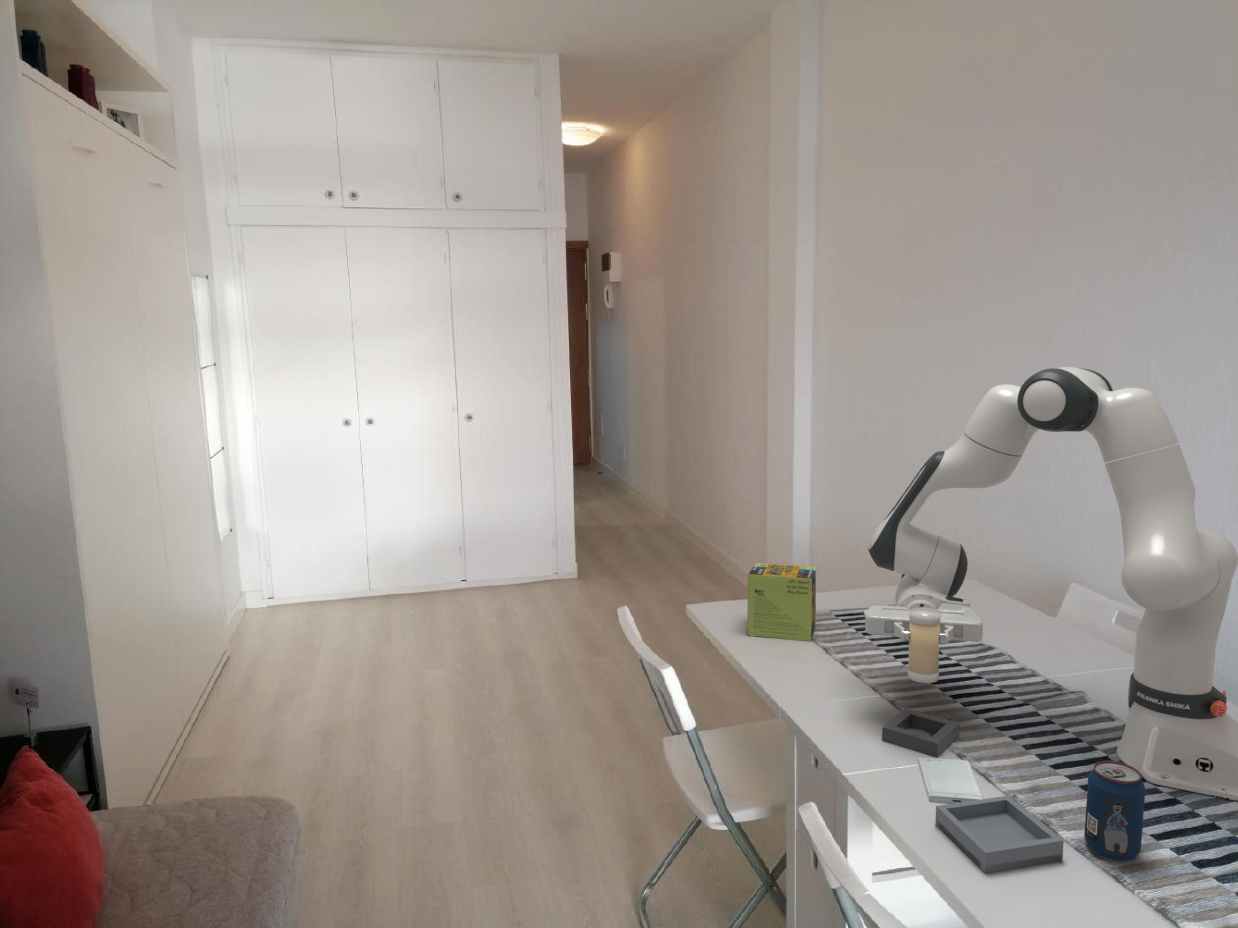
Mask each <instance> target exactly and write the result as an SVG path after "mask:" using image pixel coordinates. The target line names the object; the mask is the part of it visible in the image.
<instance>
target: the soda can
mask: <svg viewBox="0 0 1238 928" xmlns="http://www.w3.org/2000/svg"><path fill="white" fill-rule="evenodd" d="M1145 798H1146V787H1145V784H1144V782H1143V780H1142V774H1141V773H1140V772H1139V771H1138V770H1136V769H1135V768H1133V767H1131V766H1129V765H1127V764H1126V763H1124V762H1119V761H1116V760H1100V761H1097V762H1096V763H1094V765H1093V769H1092V770H1091V771H1090V772H1089V773H1088V777H1087V791H1086V803H1085V820H1084V834H1083V835H1084V836H1083V837H1084V840H1085V842H1086V844H1087V845H1088V847H1089V850H1091V852H1092V853H1094V854H1095V855H1097V856H1098V857H1099V858H1102V859H1104V860H1107V861H1109V862H1115V863H1128V862H1131V861H1133V860H1134V859H1135V858H1136V857H1138V855H1139V853H1141V850H1142V841H1143V827H1144V814H1145V813H1144V812H1145V802H1146V801H1145Z"/></svg>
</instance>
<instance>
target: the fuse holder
mask: <svg viewBox="0 0 1238 928" xmlns="http://www.w3.org/2000/svg"><path fill="white" fill-rule="evenodd" d="M881 728H882V729H881V741H883V742H886V743H888V744H892V745H896V746H899V747H902V748H905V749H909V750H912V751H914V752H919V753H921V754H925V755H929V756H930V757H931V756H932V757H933V758H934V757H935V758H938V757H940V756H941V754H942V753H944V752H945V751H946V750H947V748H949V746H951V745H952V743H954V742H955V741H956V740H957V739H958V738H959V736H960V723H959V722H957V721H953V720H950V719H947V718H943V717H938V716H935V715H932V714H928V713H925V712H920V711H918V710H914V709H910V708H907V707H905V708H904V709H902V710H901V711H900V712H899V713H898V714H896V715H895V716H894V717H893V718H892V719H890V720H889V721H887V723H886V724H884V725H883V726H882V727H881ZM910 728H914V729H917V730H921V731H924V732H927V733H931V734H933V735H932V736H931V735H930V736H929V735H926V734H923V733H920V732H915V731H914V730H913V731H912V730H911V729H910ZM909 729H910V730H909Z"/></svg>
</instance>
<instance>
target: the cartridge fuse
mask: <svg viewBox="0 0 1238 928" xmlns="http://www.w3.org/2000/svg"><path fill="white" fill-rule="evenodd" d="M909 620H910V630H909V631H910V636H909V637H910V641H908V666H907V677H908V679H909V680H910V681H913V682H916V683H921V684H922V683H923V684H932V683H936V682H938V681H939V677H940V669H939V665H940V664H939V662H940V661H939V660H940V659H939V658H940V643H939V635H940V622H941V612H940V611H938V610H936V609H932V608H925V607H918V608H912V609H910V611H909Z"/></svg>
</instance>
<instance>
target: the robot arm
mask: <svg viewBox="0 0 1238 928" xmlns="http://www.w3.org/2000/svg"><path fill="white" fill-rule="evenodd" d="M1039 430H1042V431H1045V432H1050V433H1051V432H1055V433H1057V432H1058V433H1060V432H1061V433H1063V432H1074V433H1075V432H1083V431H1085V432H1087V433H1089V434H1090V435H1091V436H1092V437H1093V438H1094V440H1095V441H1096V443H1097V445H1098V448H1099V451H1100V454H1101V457H1102V459H1103V463H1104V466H1105V469H1106V471H1107V474H1108V478H1109V480H1110V483H1111V487H1112V490H1113V492H1114V496H1115V500H1116V502H1117V505H1118V511H1119V514H1120V515H1119V516H1120V521H1121V522H1120V523H1121V531H1122V532H1121V533H1122V543H1123V552H1124V555H1123V556H1124V560H1123V566H1122V569H1121V574H1120V575H1121V576H1120V577H1121V584H1122V586H1123V589H1124V591H1125V592H1126V595H1127V596H1128V597H1129V599H1131V600H1132V601H1133V602H1134V603H1136V604H1137V605H1139V606H1141V607H1143V608H1144V609H1145V611H1144V613H1143V615H1142V618H1141V620H1140V623H1139V624H1138V626H1137V629H1136V634H1135V635H1136V636H1135V647H1134V649H1135V650H1134V663H1133V672H1131V673H1132V674H1131V675H1130V676H1129V677H1130V678H1129V680H1128V688H1127V689H1128V690H1127V701H1128V703H1127V704H1128V708H1129V709H1128V713H1127V718H1126V723H1125V727H1124V731H1123V733H1122V736H1121V739H1120V741H1119V743H1118V745H1117V747H1116V755H1117V756H1118V758H1119V759H1120V760H1121V761H1122V763H1124V764H1127V765H1129V766H1131V767H1133V768H1135V769H1136V770H1138V771H1139V772H1140V774H1141V777H1143V778H1144V779H1145V780H1146V781H1148V782H1149V783H1151V784H1154V785H1159V786H1164V787H1169V788H1172V789H1173V788H1174V789H1177V790H1182V791H1187V792H1188V791H1189V792H1193V793H1197V794H1202V795H1203V794H1204V795H1207V796H1211V795H1215V796H1214V797H1216V796H1222V797H1223V798H1222V799H1226V798H1229V799H1228V800H1232V801H1236V800H1237V802H1238V721H1237V720H1235V719H1234V718H1233V717H1232V716H1230V715H1229V714H1228V713H1227V710H1228V706H1227V701H1228V699H1227V692H1226V690H1225V689H1224V690H1223V691H1222V692H1221V691H1220V690H1218V689H1217V688H1216V687H1215V686H1213V682H1214V671H1215V670H1214V669H1215V662H1216V661H1215V660H1216V649H1217V643H1218V637H1219V633H1220V629H1221V626H1222V622H1223V620H1224V616H1225V611H1226V608H1227V603H1228V600H1229V596H1230V591H1231V587H1232V583H1233V579H1234V575H1235V573H1236V571H1237V568H1238V552H1237V549H1236V548H1235V547H1236V546H1234V544H1233V543H1232V541H1231V540H1230V539H1229V538H1228V537H1226V536H1225V535H1223V534H1221V533H1220V532H1219V531H1215V530H1211V529H1208V528H1207V529H1205V528H1197V524H1196V522H1197V521H1196V517H1195V516H1196V515H1195V497H1196V488H1195V484H1194V482H1193V479H1192V476H1191V472H1190V470H1189V467H1188V465H1187V462H1186V460H1185V457H1184V454H1183V451H1182V448H1181V445H1180V444H1179V440H1178V437H1177V435H1176V432H1175V431H1174V428H1173V425H1172V423H1171V421H1170V419H1169V417H1168V415H1167V414H1166V412H1165V410H1164V408H1163V406H1162V404H1161V403H1160V402H1159V400H1158V399H1157V397H1156V395H1154V394H1153V393H1152V392H1151V391H1149V390H1147V389H1146V388H1142V387H1141V388H1140V387H1125V388H1120V389H1117V390H1113V387H1112V384H1111V383H1110V381H1109V380H1108V379H1107V378H1106V377H1105V376H1104V375H1102V374H1101V373H1099V372H1097V371H1095V370H1092V369H1090V368H1078V367H1075V366H1059V367H1055V368H1054V367H1051V368H1045V369H1042V370H1039V371H1037V372H1035V373H1033V374H1032V375H1030V376H1029V377H1028V378H1027V379H1026V380H1025V381H1024V383H1023V384H1022V385H1021V386H1018V385H1015V384H1009V383H1008V384H1005V383H1003V384H998V385H996V386H995V385H994V386H993V387H991V388H990V389H989V390H987V392H986V394H985V395H984V396H983V397H982V399H981V400H980V402H979V403H978V405H977V406H976V408H975V409H974V411H973V413H972V414H971V416H970V418H969V420H968V422H967V423H966V425H965V427H964V430H963V431H962V433H961V435H960V437H959V439H957V441H956V442H955V443H953V445H951V446H950V447H949V448H947V449H945V450H941V451H936V452H935V453H933V454H932V455H931V456H930V457H928V459H927V460H926V462H925V463H924V464H923V465H922V467H921V468H920V469H919V471H918V472H917V473H916V475H915V476H914V477H913V479H912V480H911V482H910V483H909V484H908V486H907V488H906V489H905V490H904V492H903V493H902V494H901V496H900V498H899V499H898V500H897V502H896V503H895V504H894V506H893V507H892V508H891V510H890V512H889V513H888V514H887V515H886V517H885V518H884V519H883V521H882V522H880V524H879V525H878V526H877V527H876V528H875V529H874V531H873V533H872V534H871V537H870V539H869V543H868V549H867V551H868V553H869V555H870V557H871V559H872V560H873V563H874V564H875V565H876V567H878V568H881V569H885V570H887V571H891V572H896V573H898V574H901V575H902V574H904V575H905V576H904V577H903V578H902V577H901V578H902V579H901V578H900V580H899V583H898V585H897V586H896V590H895V595H894V596H895V597H894V598H895V600H894V601H895V605H880V604H879V605H878V604H877V605H871V606H870V607H868V609H865V610H864V611H863V616H864V618H865V619H864V620H865V622H864V626H865V627H864V628H865V629H864V630H865V632H866V633H867V634H869V635H872V636H873V635H874V636H876V635H877V636H889V637H890V636H891V637H898V638H899V639H900V641H901V642H909V641H910V637H909V636H910V631H909V630H910V620H909V611H910V609H912V608H918V607H925V608H932V609H936V610H938V611H940V612H941V622H940V635H939V644H944V645H948V644H949V642H950V641H962V642H973V643H974V642H975V643H977V642H980V641H982V640H983V637H984V634H983V633H984V624H983V623H984V622H983V620H982V618H981V616H980V614H979V612H978V611H977V610H976V609H975V608H972V607H971V601H970V600H968V599H965V598H959V597H954V596H956V595H957V594H958V592H959V591H960V589H961V587H962V585H963V584H964V581H965V579H966V575H967V572H968V564H969V563H968V562H969V561H968V556H967V553H966V550H965V549H964V546H963V545H962V544H961V543H959V542H956V541H953V540H951V539H949V538H946V537H944V536H940V535H938V534H935V533H932V532H929V531H927V530H924V529H922V528H919V527H916V526H914V525H912V524H911V522H912V521H913V519H915V516H916V515H917V514H918V512H919V511H920V510H921V508H922V507H923V505H924V504H925V503H926V502H927V500H928V499H929V498H930V496H931V495H933V494H934V493H936V492H938V491H941V490H945V489H986V488H990V487H995V486H997V485H1000V484H1002V483H1004V482H1005V481H1007V480H1008V479H1009V478H1010V477H1011V475H1012V474H1013V473H1014V471H1015V470H1016V468H1017V467H1018V465H1019V464H1020V462H1021V459H1022V457H1023V455H1024V453H1025V451H1026V449H1027V447H1028V445H1029V443H1030V441H1031V439H1032V438H1033V436H1034V435H1035V434H1036V433H1037V431H1039Z"/></svg>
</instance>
